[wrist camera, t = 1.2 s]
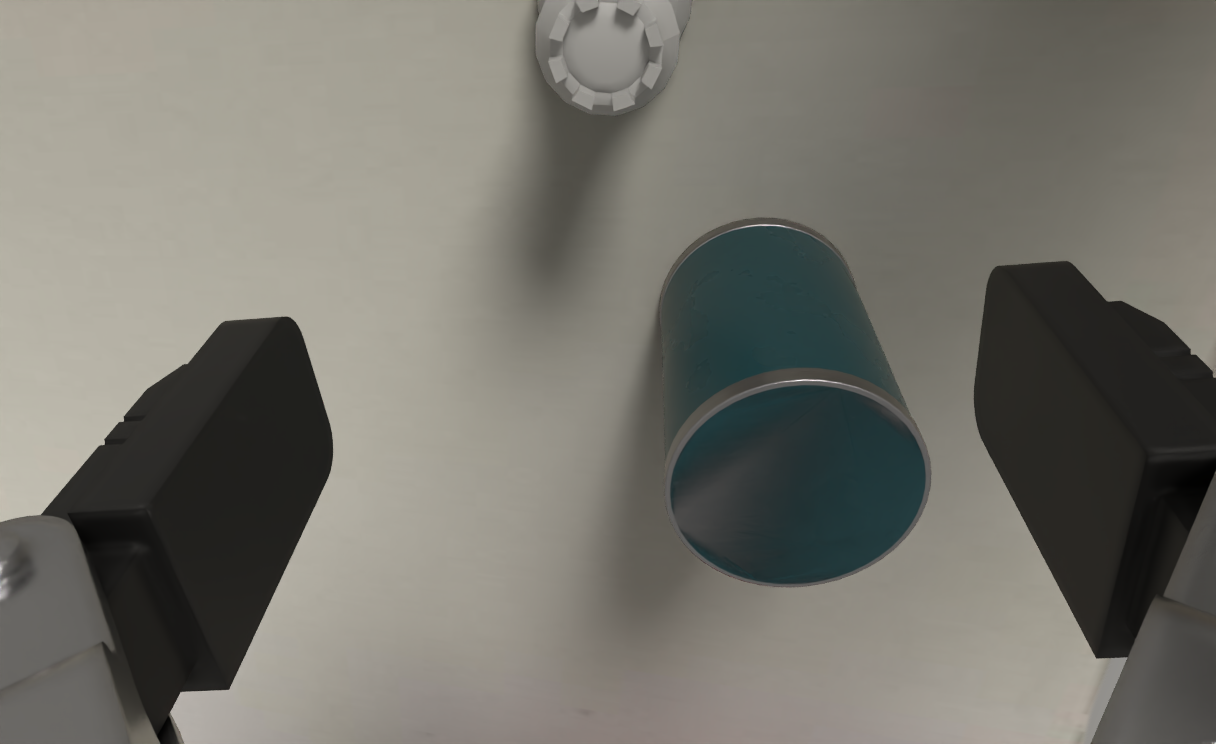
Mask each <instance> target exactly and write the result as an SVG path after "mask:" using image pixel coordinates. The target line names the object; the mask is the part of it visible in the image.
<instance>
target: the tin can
mask: <svg viewBox="0 0 1216 744" xmlns="http://www.w3.org/2000/svg"><path fill="white" fill-rule="evenodd" d="M659 313H660V327H661V333H662V367H663V401H664V436H665V469H664V496H665V504H666V509H667V512H668V516H669V519H670V521H671V523H672V526H673V528H674V530H675V532H676V533H677V535H678V536H679V538H680V539H681V540H682V542H683V543H684V544H685V545H686V546H687V548H688V549H689V550H690V551H691V552H692V553H693V554H694V555H695V556H697V557H698V558H699V559H700V560H702V561H703V562H704V563H706V564H707V565H709V566H710V567H712V568H714V569H715V570H717V571H719V572H721V573H723V574H725V575H728V576H730V577H733V578H736V579H739V580H741V581H745V582H749V583H753V584H758V585H764V586H772V587H803V586H811V585H818V584H824V583H827V582H831V581H835V580H839V579H842V578H844V577H847V576H850V575H853V574H855V573H857V572H859V571H861V570H863V569H865V568H868V567H869V566H871V565H873V564H874V563H876V562H878V561H879V560H881V559H882V558H884V557H885V556H886V555H887V554H889V553H890V552H891V551H893V550H894V549H895V548H896V547H897V546H898V545H899V544H900V543H901V542H902V541H903V540H904V539H905V538H906V537H907V535H908V534H909V533H910V532H911V530H912V529H913V528H914V526H915V525H916V523H917V521H918V520H919V518H920V516H921V515H922V512H923V510H924V507H925V505H926V503H927V499H928V495H929V491H930V485H931V465H930V458H929V454H928V451H927V447H926V445H925V442H924V440H923V438H922V435H921V433H920V431H919V429H918V427H917V425H916V423H915V421H914V420H913V418H912V417H911V415H910V413H909V410H908V408H907V406H906V403H905V401H904V399H903V396H902V394H901V392H900V389H899V387H898V385H897V382H896V380H895V378H894V375H893V373H892V371H891V368H890V366H889V364H888V361H887V359H886V357H885V354H884V352H883V350H882V347H881V345H880V343H879V340H878V338H877V336H876V333H875V331H874V329H873V326H872V324H871V322H870V319H869V317H868V315H867V312H866V310H865V308H864V305H863V303H862V301H861V298H860V296H859V294H858V291H857V288H856V285H855V281H854V278H853V276H852V273H851V271H850V269H849V267H848V265H847V263H846V261H845V259H844V258H843V256H842V255H841V254H840V252H839V251H838V250H837V249H836V248H835V247H834V245H833V244H832V243H831V242H829V241H828V240H827V239H826V238H824V237H823V236H822V235H820V234H819V233H817V232H815V231H814V230H812V229H810V228H808V227H806V226H803V225H801V224H798V223H795V222H791V221H788V220H782V219H775V218H754V219H745V220H741V221H736V222H732V223H729V224H726V225H724V226H721V227H719V228H717V229H715V230H712V231H710V232H708V233H707V234H705V235H704V236H702V237H701V238H699V239H698V240H696V241H695V242H694V243H693V244H692V245H690V246H689V247H688V248H687V249H686V250H685V251H684V252H683V253H682V255H681V256H680V257H679V258H678V259H677V261H676V262H675V264H674V265H673V266H672V268H671V270H670V272H669V274H668V276H667V278H666V280H665V283H664V286H663V289H662V293H661V298H660V312H659Z"/></svg>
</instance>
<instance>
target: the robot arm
mask: <svg viewBox="0 0 1216 744" xmlns="http://www.w3.org/2000/svg"><path fill="white" fill-rule="evenodd" d="M1190 350H1191V349H1190V348H1189V347H1188V346H1187V345H1186V344H1185V343H1184V342H1183V341H1182V340H1181V339H1180V338H1179V337H1178V336H1177V335H1176V334H1175V333H1174V332H1173V331H1172V330H1171V329H1170V328H1169V327H1168V326H1167V325H1166V324H1165V323H1164V322H1162V321H1160V320H1158V319H1156V318H1154V317H1152V316H1150V315H1148V314H1146V313H1144V312H1142V311H1140V310H1138V309H1136V308H1134V307H1132V306H1130V305H1128V304H1126V303H1125V302H1123V301H1112V302H1107V301H1106V300H1105V299H1104V298H1103V297H1102V295H1101V294H1100V293H1099V292H1098V291H1097V290H1096V289H1095V288H1094V287H1093V286H1092V285H1091V283H1090V282H1089V281H1088V280H1087V279H1086V278H1085V277H1084V276H1083V275H1082V274H1081V273H1080V271H1079V270H1078V269H1077V268H1076V267H1075V266H1074V265H1073V264H1072V263H1070V262H1068V261H1060V262H1046V263H1032V264H1019V265H1005V266H997V267H995V268H994V269H993V270H992V272H991V274H990V277H989V279H988V283H987V288H986V296H985V304H984V312H983V320H982V328H981V336H980V344H979V352H978V360H977V368H976V376H975V384H974V408H975V416H976V422H977V426H978V430H979V433H980V436H981V439H982V441H983V443H984V445H985V447H986V449H987V451H988V453H989V455H990V456H991V458H992V460H993V462H994V464H995V466H996V468H997V470H998V472H999V474H1000V476H1001V477H1002V479H1003V481H1004V483H1005V485H1006V487H1007V489H1008V491H1009V493H1010V495H1011V496H1012V498H1013V500H1014V502H1015V504H1016V506H1017V508H1018V510H1019V512H1020V514H1021V516H1022V517H1023V519H1024V521H1025V523H1026V525H1027V527H1028V529H1029V531H1030V533H1031V535H1032V537H1033V538H1034V540H1035V542H1036V544H1037V546H1038V548H1039V550H1040V552H1041V554H1042V556H1043V558H1044V559H1045V561H1046V563H1047V565H1048V567H1049V569H1050V571H1051V573H1052V575H1053V577H1054V579H1055V580H1056V582H1057V584H1058V586H1059V588H1060V590H1061V592H1062V594H1063V596H1064V598H1065V600H1066V601H1067V603H1068V605H1069V607H1070V609H1071V611H1072V613H1073V615H1074V617H1075V619H1076V621H1077V622H1078V624H1079V626H1080V628H1081V630H1082V632H1083V634H1084V636H1085V638H1086V640H1087V642H1088V643H1089V645H1090V647H1091V649H1092V651H1093V653H1094V655H1095V657H1096V658H1120V657H1128V658H1127V660H1126V663H1125V665H1124V668H1123V670H1122V672H1121V674H1120V677H1119V679H1118V682H1117V684H1116V686H1115V688H1114V691H1113V693H1112V696H1111V698H1110V700H1109V702H1108V705H1107V707H1106V709H1105V712H1104V714H1103V716H1102V718H1101V721H1100V723H1099V725H1098V728H1097V730H1096V732H1095V735H1094V737H1093V739H1092V742H1091V744H1216V378H1213V371H1212V370H1211V369H1210V368H1209V367H1208V366H1207V365H1206V364H1205V363H1204V362H1203V361H1202V360H1201V359H1200V358H1199V357H1198V356H1197V355H1191V353H1190ZM104 440H105V445H100V446H99V447H98V448H97V449H96V450H95V451H94V452H93V454H92V455H91V456H90V457H89V458H88V460H87V461H86V462H85V463H84V464H83V465H82V467H81V468H80V469H79V470H78V471H77V473H76V474H75V475H74V476H73V477H72V478H71V480H70V481H69V482H68V483H67V484H66V486H65V487H64V488H63V489H62V490H61V492H60V493H59V494H58V495H57V496H56V497H55V499H54V500H53V501H52V502H51V503H50V505H49V506H48V507H47V508H46V509H45V510H44V512H43V513H42V514H41V515H37V516H26V517H20V518H15V519H11V520H7V521H3V522H0V744H184V741H183V739H182V736H181V733H180V731H179V729H178V727H177V725H176V723H175V721H174V719H173V717H172V715H171V713H170V711H171V709H172V708H173V706H174V704H175V702H176V700H177V698H178V696H179V694H180V692H185V691H210V690H229V689H230V686H231V684H232V682H233V680H234V678H235V676H236V674H237V671H238V669H239V667H240V665H241V663H242V661H243V659H244V656H245V654H246V652H247V650H248V648H249V646H250V644H251V642H252V639H253V637H254V635H255V633H256V631H257V629H258V627H259V624H260V622H261V620H262V618H263V616H264V614H265V612H266V609H267V607H268V605H269V603H270V601H271V599H272V597H273V595H274V592H275V590H276V588H277V586H278V584H279V582H280V580H281V577H282V575H283V573H284V571H285V569H286V567H287V565H288V562H289V560H290V558H291V556H292V554H293V552H294V550H295V548H296V545H297V543H298V541H299V539H300V537H301V535H302V533H303V530H304V528H305V526H306V524H307V522H308V520H309V518H310V516H311V513H312V511H313V509H314V507H315V505H316V503H317V501H318V498H319V496H320V494H321V492H322V490H323V488H324V486H325V483H326V481H327V479H328V477H329V474H330V471H331V466H332V459H333V439H332V432H331V427H330V423H329V420H328V417H327V413H326V410H325V407H324V404H323V400H322V397H321V394H320V391H319V387H318V384H317V381H316V378H315V374H314V371H313V368H312V365H311V361H310V358H309V355H308V352H307V348H306V345H305V342H304V339H303V336H302V333H301V331H300V329H299V327H298V325H297V324H296V322H295V321H294V320H293V319H291V318H290V317H274V318H260V319H246V320H232V321H225V322H223V323H221V324H220V325H219V326H218V327H217V329H216V330H215V331H214V332H213V334H212V335H211V336H210V337H209V339H208V340H207V341H206V342H205V344H204V345H203V346H202V347H201V348H200V350H199V351H198V352H197V353H196V355H195V356H194V357H193V358H192V360H191V361H190V362H189V363H188V364H184V365H182V366H181V367H179V368H178V369H176V370H175V371H173V372H172V373H170V374H169V375H167V376H166V377H164V378H163V379H161V380H160V381H158V382H157V383H155V384H154V385H153V386H151V387H150V388H148V389H147V390H146V391H145V392H144V393H143V394H142V396H141V397H140V398H139V399H138V400H137V402H136V403H135V404H134V405H133V406H132V408H131V409H130V410H129V411H128V412H127V413H126V415H125V416H124V422H119V423H118V424H117V425H116V426H115V428H114V429H113V430H112V431H111V432H110V434H109V435H108V436H107V437H106V438H105V439H104Z"/></svg>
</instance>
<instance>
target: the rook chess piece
mask: <svg viewBox="0 0 1216 744" xmlns="http://www.w3.org/2000/svg"><path fill="white" fill-rule="evenodd" d="M691 5H692V0H538V12H539V14H540V15H539V17H538V20H537V22H536V41H535V54H536V57H537V59H538V62H539V65H540V67H541V70H542V73H543V75H544V78H545V80H546V82H547V83H548V84H549V85H550V86H551V87H552V88H553V90H554V91H555V92H556V93H557V94H558V95H559V96H560V97H561V98H562V99H563V101H564V102H566V103H568V104H570V105H572V106H574V107H576V108H578V109H580V110H582V111H584V112H587V113H589V114H597V115H612V116H618V115H621V114H624V113H627V112H630V111H633V110H636V109H639V108H642V107H644V106H645V105H646V104H647V103H648V102H649V101H651V100H652V99H653V98H654V97H655V96H656V95H657V94H659V93H660V92H661V91H662V90H663V89H664V88H665V86H666V84H667V82H668V80H669V78H670V76H671V74H672V72H673V71H674V69H675V67H676V65H677V62H678V51H679V40H680V37H681V35H682V33H683V31H684V29H685V27H686V25H687V23H688V21H689V19H690V14H691Z"/></svg>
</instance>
